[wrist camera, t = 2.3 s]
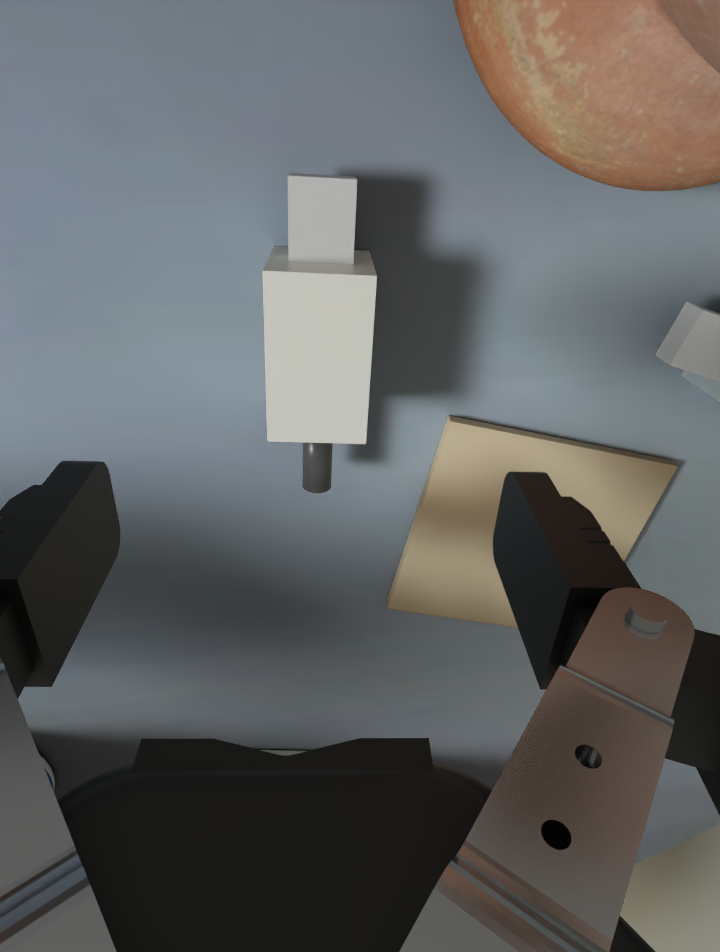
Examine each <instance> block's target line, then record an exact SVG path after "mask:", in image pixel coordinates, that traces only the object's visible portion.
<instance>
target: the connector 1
mask: <svg viewBox="0 0 720 952" xmlns="http://www.w3.org/2000/svg"><path fill="white" fill-rule="evenodd" d="M356 196H357V178H356V177H352V176H334V175H317V174H299V173H290V174H289V175H288V247H280V246H274V248H273V250H272V252H271V254H270V256H269V258H268V260H267V263H266V265H265V267H264V269H263V302H264V338H265V374H266V409H267V441H272V442H303V488H304V489H305V490H306V491H308V492H312V493H322V492H326V491H328V490H329V489H330V488H331V469H332V443H342V444H366V437H367V421H368V406H369V391H370V376H371V360H372V345H373V330H374V315H375V299H376V284H377V274H376V271H375V268H374V264H373V261H372V258H371V254H370V251H362V250H354V240H355V218H356Z"/></svg>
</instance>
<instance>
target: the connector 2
mask: <svg viewBox="0 0 720 952" xmlns="http://www.w3.org/2000/svg"><path fill="white" fill-rule="evenodd" d="M655 355H656V356H657V357H658V358H660V359H661V360H663V361H664V362H665V363H667V364H668V365H670V366H673V367H676V368H679V369H682V370H683V372H682V374H681V376H682V377H684V378H685V379H687V380H688V381H689V382H691V383H692V384H694V385H695V386H696V387H698V388H699V389H701V390H702V391H703V392H705V393H706V394H708V395H709V396H711V397H712V398H713V399H715V400H716V401H718V402H719V403H720V313H717V312H714V311H711V310H708V309H706V308H703V307H700V306H697V305H694V304H692V303H689V302H686V303H685V305H684V306H683V308H682V310H681V312H680V313H679V315H678V317H677V318H676V320H675V322H674V323H673V325H672V327H671V329H670V330H669V332H668V334H667V335H666V337H665V339H664V340H663V342H662V344H661V346H660V347H659V349H658V351H657V352H656V354H655Z"/></svg>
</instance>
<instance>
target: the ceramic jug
mask: <svg viewBox="0 0 720 952" xmlns="http://www.w3.org/2000/svg"><path fill="white" fill-rule="evenodd" d="M453 1H454V6H455V11H456V15H457V18H458V21H459V25H460V28H461V32H462V35H463V38H464V41H465V44H466V47H467V49H468V52H469V54H470V57H471V59H472V61H473V64H474V66H475V68H476V71H477V73H478V74H479V77H480V79H481V81H482V83H483V84H484V86H485V88H486V90H487V92H488V94H489V95H490V97H491V99H492V100H493V101H494V103H495V104H496V106H497V107H498V109H499V110H500V111H501V112H502V114H503V115H504V116H505V118H506V119H507V120H508V121H509V122H510V124H511V125H512V126H513V127H514V128H515V129H516V130H517V131H518V132H519V133H520V134H521V135H522V136H523V137H524V138H525V139H526V140H527V141H528V142H529V143H530V144H532V145H533V146H534V147H535V148H536V149H538V150H539V151H540V152H541V153H543V154H544V155H546V156H547V157H549V158H550V159H552V160H553V161H555V162H556V163H558V164H560V165H561V166H563V167H565V168H567V169H569V170H571V171H572V172H574V173H577V174H579V175H582V176H584V177H586V178H589V179H592V180H594V181H597V182H600V183H603V184H607V185H611V186H615V187H620V188H626V189H632V190H643V191H669V190H682V189H689V188H695V187H700V186H704V185H709V184H713V183H716V182H720V0H453Z"/></svg>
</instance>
